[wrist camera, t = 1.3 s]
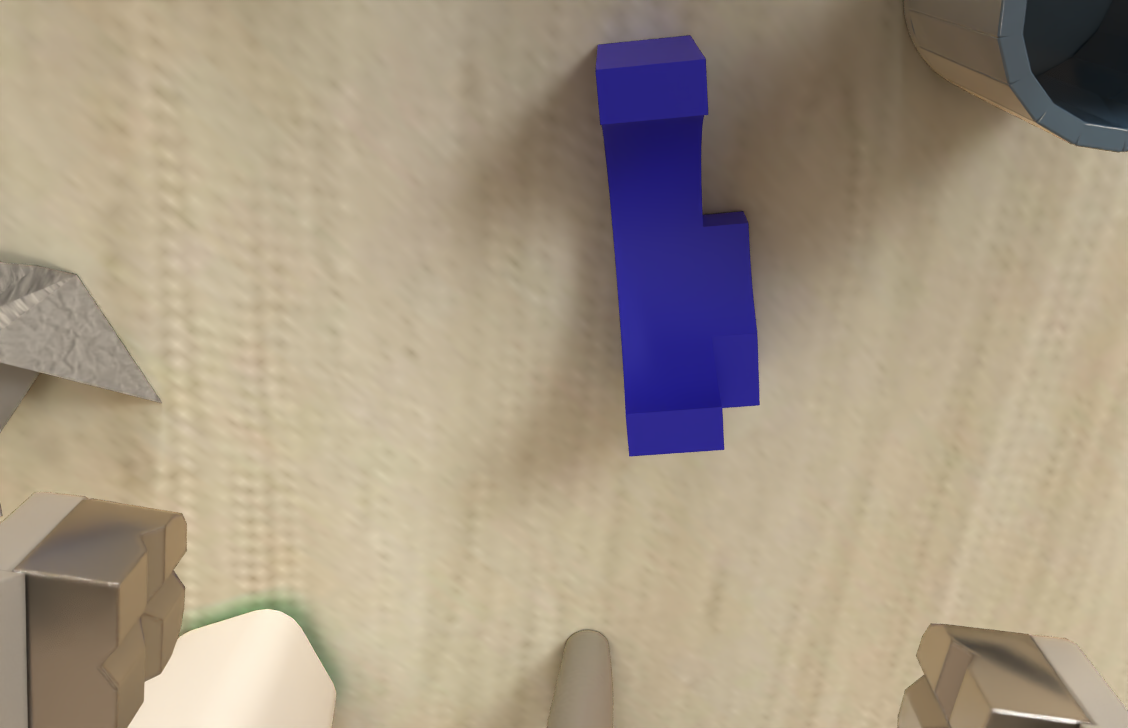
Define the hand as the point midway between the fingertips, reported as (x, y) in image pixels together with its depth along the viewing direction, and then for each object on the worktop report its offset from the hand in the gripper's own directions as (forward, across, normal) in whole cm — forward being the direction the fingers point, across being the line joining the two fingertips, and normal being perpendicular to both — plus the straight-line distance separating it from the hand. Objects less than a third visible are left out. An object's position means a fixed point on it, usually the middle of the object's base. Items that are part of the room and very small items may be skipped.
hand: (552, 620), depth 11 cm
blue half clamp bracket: (+26, -4, 0) cm, 27 cm away
